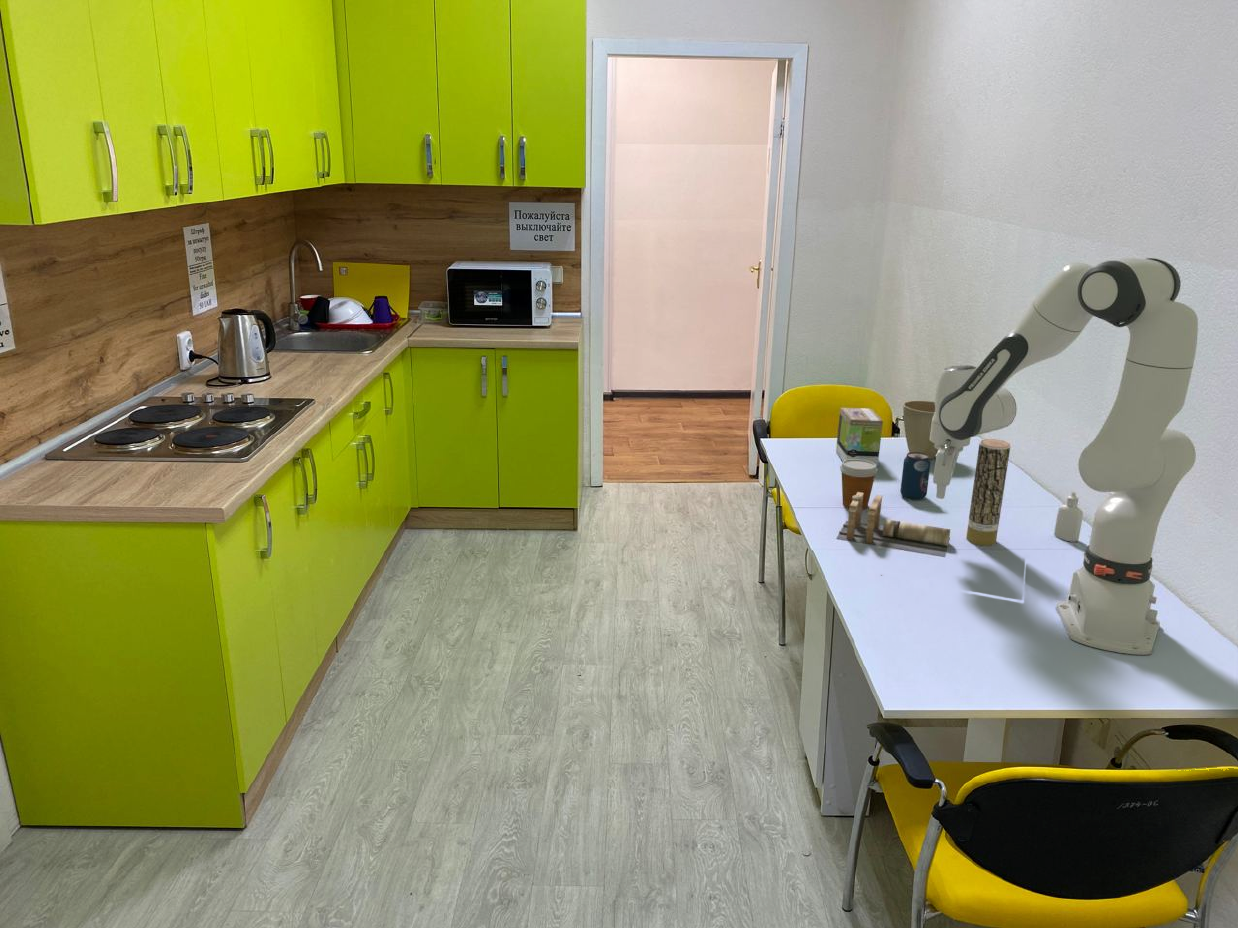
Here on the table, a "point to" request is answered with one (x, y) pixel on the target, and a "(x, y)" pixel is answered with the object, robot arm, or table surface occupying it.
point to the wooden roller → (916, 532)
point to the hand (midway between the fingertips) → (942, 491)
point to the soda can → (915, 476)
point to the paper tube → (988, 491)
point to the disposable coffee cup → (857, 480)
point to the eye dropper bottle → (1069, 520)
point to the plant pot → (919, 426)
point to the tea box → (859, 434)
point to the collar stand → (880, 530)
